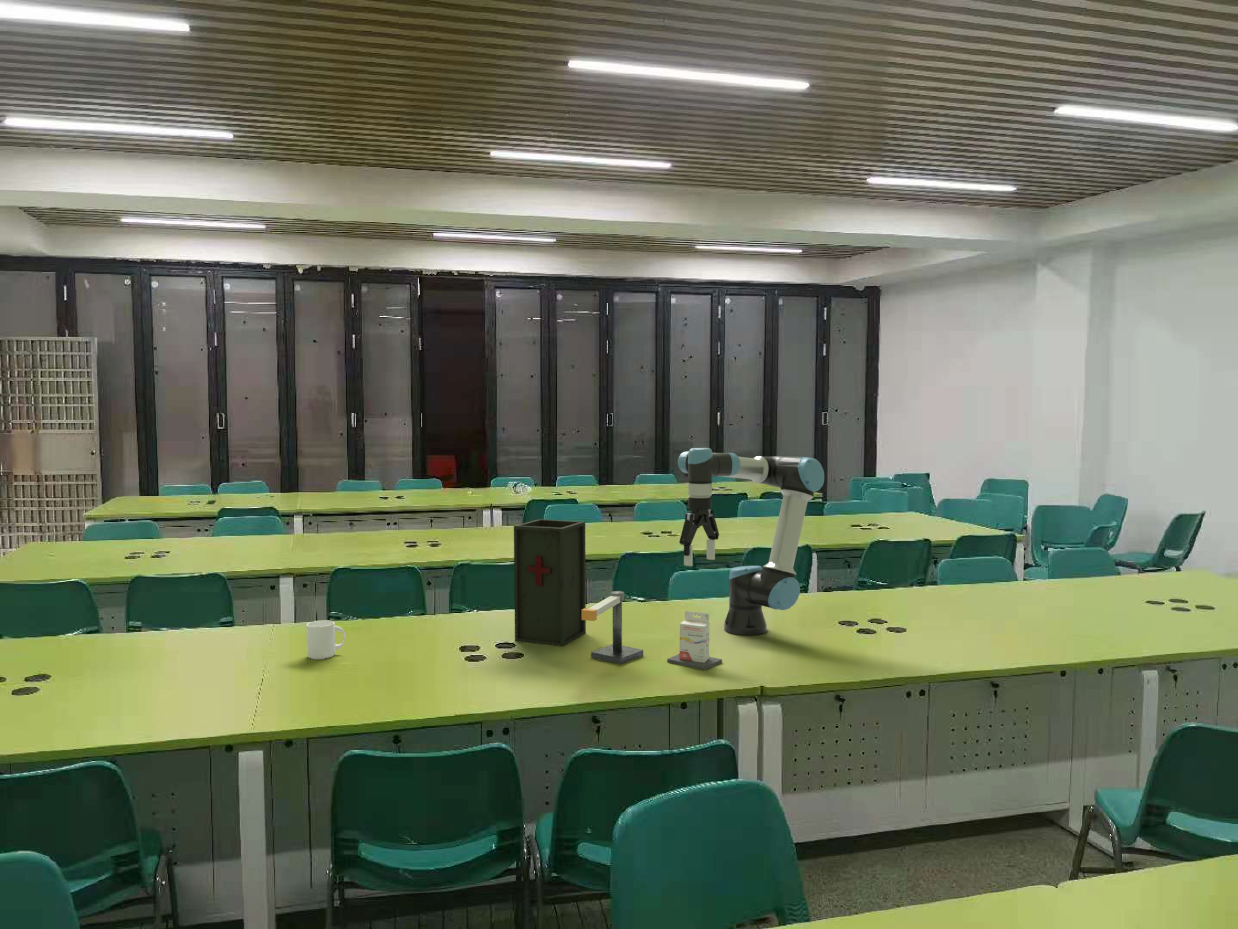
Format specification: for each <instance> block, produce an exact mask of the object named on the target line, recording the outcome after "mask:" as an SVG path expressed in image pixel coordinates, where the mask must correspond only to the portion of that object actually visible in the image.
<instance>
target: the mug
mask: <svg viewBox="0 0 1238 929" xmlns="http://www.w3.org/2000/svg"><path fill="white" fill-rule="evenodd" d="M335 624H336V623H335V621H333V620H328V619H326V620H325V619H321V620H314V621H310V622H308V623H307V624H305V626H306V655H307V657H308V658H309V659H310V658H311V660H325V658H327V659H329V657H330V658H333V657H334V656H335V654H336V651H337V650H339V649H341V648H342V647H343V646H344V644H345V642H346V632H345V631H344V629H343V628H341V627H340V626H338V625H335ZM336 632H340V633H341V634H342V635H343V640H342V642H341V643H339V644H337V643H336Z"/></svg>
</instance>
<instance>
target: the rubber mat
mask: <svg viewBox="0 0 1238 929" xmlns="http://www.w3.org/2000/svg"><path fill="white" fill-rule="evenodd" d="M679 658H680V653H678V654H675V655H674V656H671V657H669V658H667V663H670V664H673V665H674V664H675V665H679V666H683V667H689V668H693V669H698V670H703V671H708V670H709V669H711V668H714V667H715V666H718V665H719V664H721V663H723V659H722V658H717V657H712V656H709V659H708V660H707V661H706V662H705V663H702V662H695V661H688V660H680V659H679Z"/></svg>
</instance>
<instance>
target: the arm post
mask: <svg viewBox="0 0 1238 929" xmlns="http://www.w3.org/2000/svg"><path fill="white" fill-rule="evenodd" d="M590 655H591V656H590V658H591V659H594V660H599V661H603V662H607V663H611V664H615V665H619V666H621V665H624V664H626V663H629V662H631V661H634V660H637V659H639V658H642V657H644V649H641V648H637V647H631V646H627V645H623V601H622V602H620V603H618V604H617V605H615V606H613V607H612V644H609V645H607V646H604V647H601V648H598V649H596V650H595V649H594V650H593V651H590Z"/></svg>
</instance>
